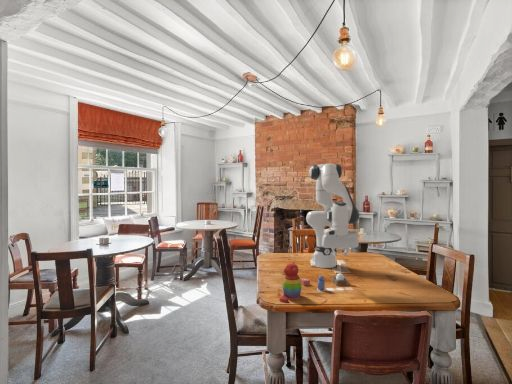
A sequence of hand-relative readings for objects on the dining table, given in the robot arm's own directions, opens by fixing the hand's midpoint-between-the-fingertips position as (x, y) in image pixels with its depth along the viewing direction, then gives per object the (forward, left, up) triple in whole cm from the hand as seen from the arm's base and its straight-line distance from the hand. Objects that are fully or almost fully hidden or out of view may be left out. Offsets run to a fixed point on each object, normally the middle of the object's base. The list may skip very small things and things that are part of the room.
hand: (340, 255), depth 166 cm
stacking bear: (+17, -31, -17) cm, 39 cm away
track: (+9, -6, -17) cm, 20 cm away
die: (0, -20, -17) cm, 26 cm away
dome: (0, 0, -15) cm, 15 cm away
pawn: (+9, -13, -16) cm, 23 cm away
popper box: (0, 0, -17) cm, 17 cm away
